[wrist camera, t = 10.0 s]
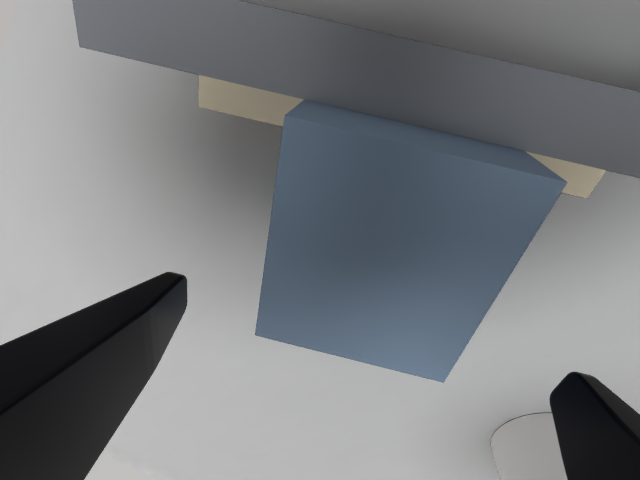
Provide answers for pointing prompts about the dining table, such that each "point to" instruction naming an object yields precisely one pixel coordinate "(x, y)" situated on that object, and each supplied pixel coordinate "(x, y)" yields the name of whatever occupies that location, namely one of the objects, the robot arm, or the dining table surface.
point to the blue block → (393, 237)
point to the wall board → (373, 80)
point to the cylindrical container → (528, 449)
